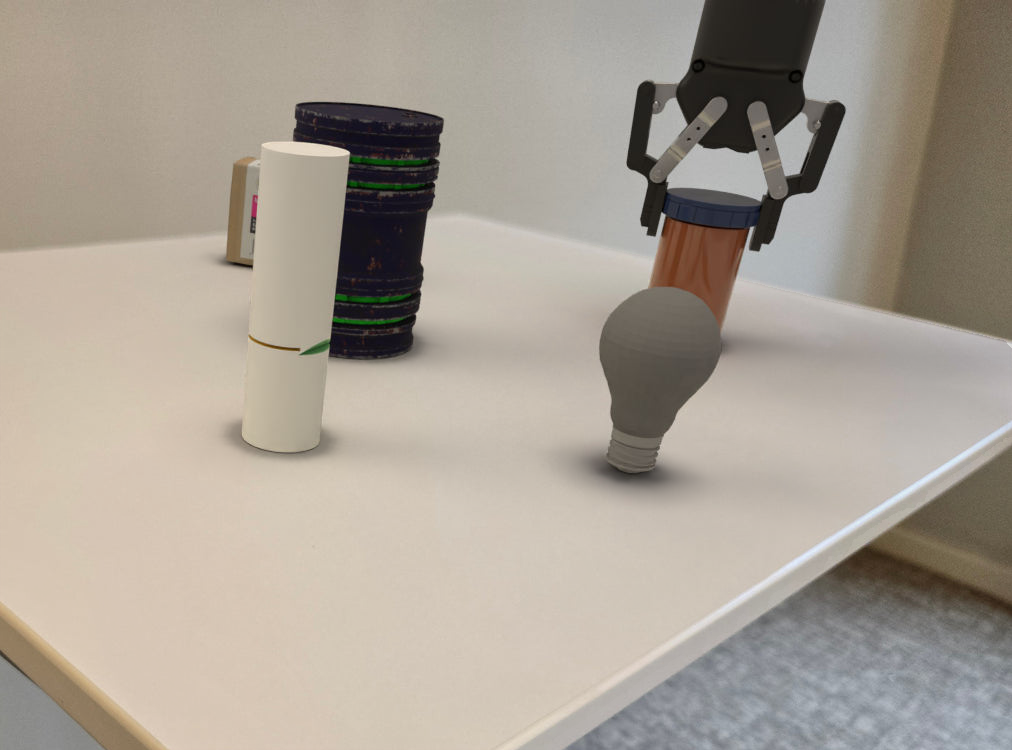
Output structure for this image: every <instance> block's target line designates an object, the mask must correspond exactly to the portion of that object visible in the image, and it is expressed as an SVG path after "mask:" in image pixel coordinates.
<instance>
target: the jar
mask: <svg viewBox="0 0 1012 750" xmlns="http://www.w3.org/2000/svg"><path fill="white" fill-rule="evenodd" d="M750 231H751V227H748V228H730V227H718V226H710V225H703V224H697V223H692V222H687V221H683V220H679V219H675V218H672V217H670V216H667V215H665V214H664V218H663V223H662V226H661V231H660V236H659V240H658V244H657V248H656V252H655V257H654V260H653V264H652V270H651V272H650V276H649V277H650V278H649V281H648V285H647V286H648V287H647V289H649V288H653V287H674V288H679V289H682V290H685V291H687V292H690V293H692V294H694V295H695V296H697V297H698V298H700V299H701V300H703V301H704V303H705V304H706V305H707V306H708V307H709V308H710V310H711V311H712V313H713V315H714V316H715V318H716V320H717V323H718V325H719V329H720V333H721V334H722V332H723V328H724V324H725V321H726V317H727V315H728V310H729V306H730V304H731V303H730V302H731V299H732V296H733V292H734V288H735V285H736V282H737V277H738V274H739V270H740V267H741V263H742V260H743V256H744V251H745V248H746V244H747V242H748V237H749V234H750Z"/></svg>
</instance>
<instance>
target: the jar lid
mask: <svg viewBox="0 0 1012 750" xmlns="http://www.w3.org/2000/svg"><path fill="white" fill-rule="evenodd" d="M761 207H762V202H761V200H759V199H756V198H753V197H750V196H746V195H742V194H737V193H734V192H733V193H732V192H728V191H722V190H715V189H706V188H695V187H670V188H667V191H666V196H665V200H664V204H663V208H662V213H661V214H664V216H665V215H667V216H670V217H672V218H675V219H679V220H683V221H687V222H692V223H697V224H703V225H710V226H718V227H730V228H748V227H750V228H754V226H756V225H757V222H758V218H759V214H760V210H761Z"/></svg>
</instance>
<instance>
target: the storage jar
mask: <svg viewBox="0 0 1012 750" xmlns="http://www.w3.org/2000/svg"><path fill="white" fill-rule="evenodd" d="M294 119H295V121H296V122H295V127H294V128H293V130H292V131H293V132H292V142H304V143H314V144H322V145H328V146H333V147H338V148H341V149H344V150H347V151H349V152H350V156H349V166H348V175H347V185H346V195H345V204H344V214H343V223H342V233H341V243H340V252H339V262H338V271H337V281H336V290H335V300H334V310H333V319H332V328H331V338H330V342H329V345H330V347H329V357H336V358H343V359H354V360H355V359H357V360H358V359H359V360H365V359H366V360H372V359H373V360H375V359H385V358H392V357H396V356H400V355H403V354H405V353H407V352H409V351H410V350H411V349H412V348H413V345H414V344H413V343H414V334H413V330H414V326H415V325H416V324H417V323H416V322H417V313H419V310H420V308H421V307H420V305H421V301H422V300H421V298H422V291H421V288H422V287H423V282H424V280H425V277H424V273H425V272H424V271H425V269H424V266H423V264H422V257H423V249H424V241H425V235H426V229H427V228H426V227H427V222H428V221H427V220H428V214H429V211H430V210H431V209H432V208H433V206H434V200H435V198H436V194H435V191H436V183H435V182H436V181H437V180H438V179H439V178H438V177H439V172H440V164H441V162H440V160H438V159H437V158H438V157H440V153H441V146H442V144H441V141H440V138H441V135H442V133H443V131H444V125H445V119H444V118H443V117H442V116H441V115H436V114H433V113H429V112H426V111H425V112H424V111H419V110H416V109H415V110H414V109H410V108H409V109H408V108H402V107H395V106H387V105H378V104H368V103H357V102H345V101H344V102H341V101H305V102H304V101H303V102H298V103H296V104H295V106H294Z"/></svg>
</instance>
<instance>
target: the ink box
mask: <svg viewBox="0 0 1012 750" xmlns="http://www.w3.org/2000/svg"><path fill="white" fill-rule="evenodd" d="M260 159H261V158H256V157H254V156H245V157H243V158H240V159H238V160H236V161H235V162H233V164H232V174H231V183H230V194H229V205H228V206H229V207H228V221H227V222H228V223H227V237H226V252H225V253H226V254H225V260H226V261H227V262H232V263H235V264H236V263H238V264H243V265H248V266H253V262H254V247H255V233H256V218H257V203H258V189H259V174H260Z"/></svg>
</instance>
